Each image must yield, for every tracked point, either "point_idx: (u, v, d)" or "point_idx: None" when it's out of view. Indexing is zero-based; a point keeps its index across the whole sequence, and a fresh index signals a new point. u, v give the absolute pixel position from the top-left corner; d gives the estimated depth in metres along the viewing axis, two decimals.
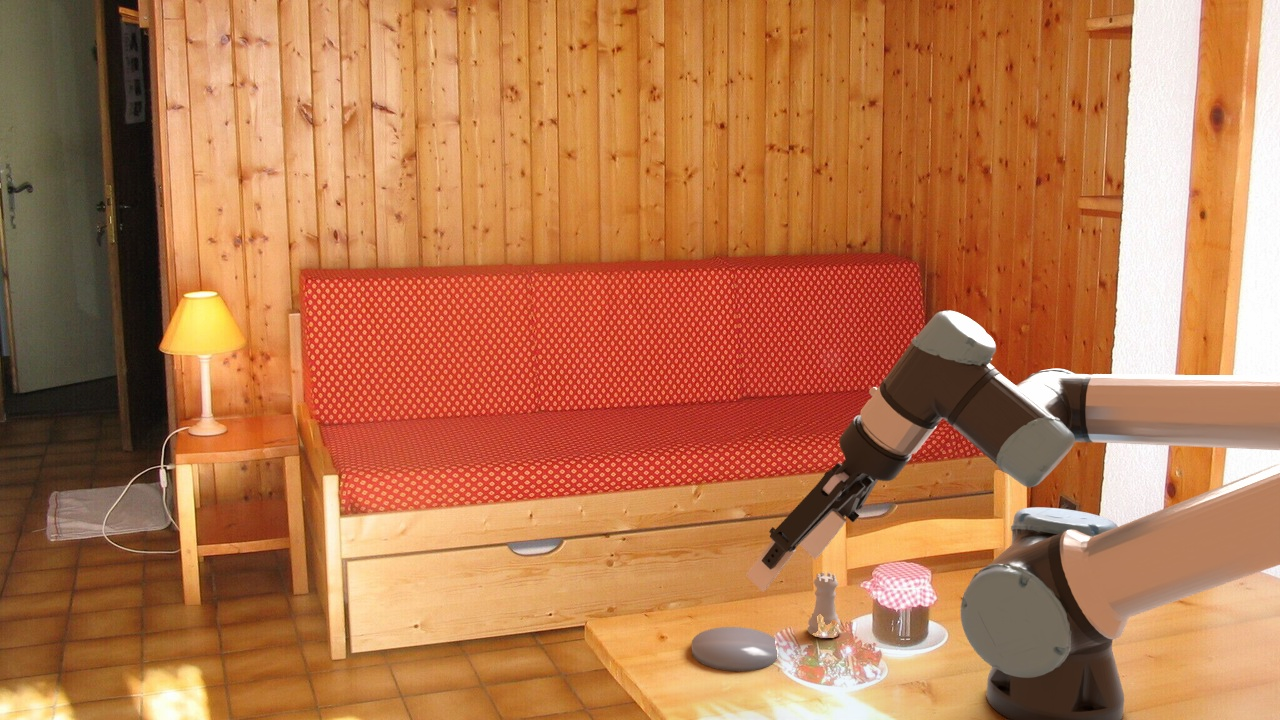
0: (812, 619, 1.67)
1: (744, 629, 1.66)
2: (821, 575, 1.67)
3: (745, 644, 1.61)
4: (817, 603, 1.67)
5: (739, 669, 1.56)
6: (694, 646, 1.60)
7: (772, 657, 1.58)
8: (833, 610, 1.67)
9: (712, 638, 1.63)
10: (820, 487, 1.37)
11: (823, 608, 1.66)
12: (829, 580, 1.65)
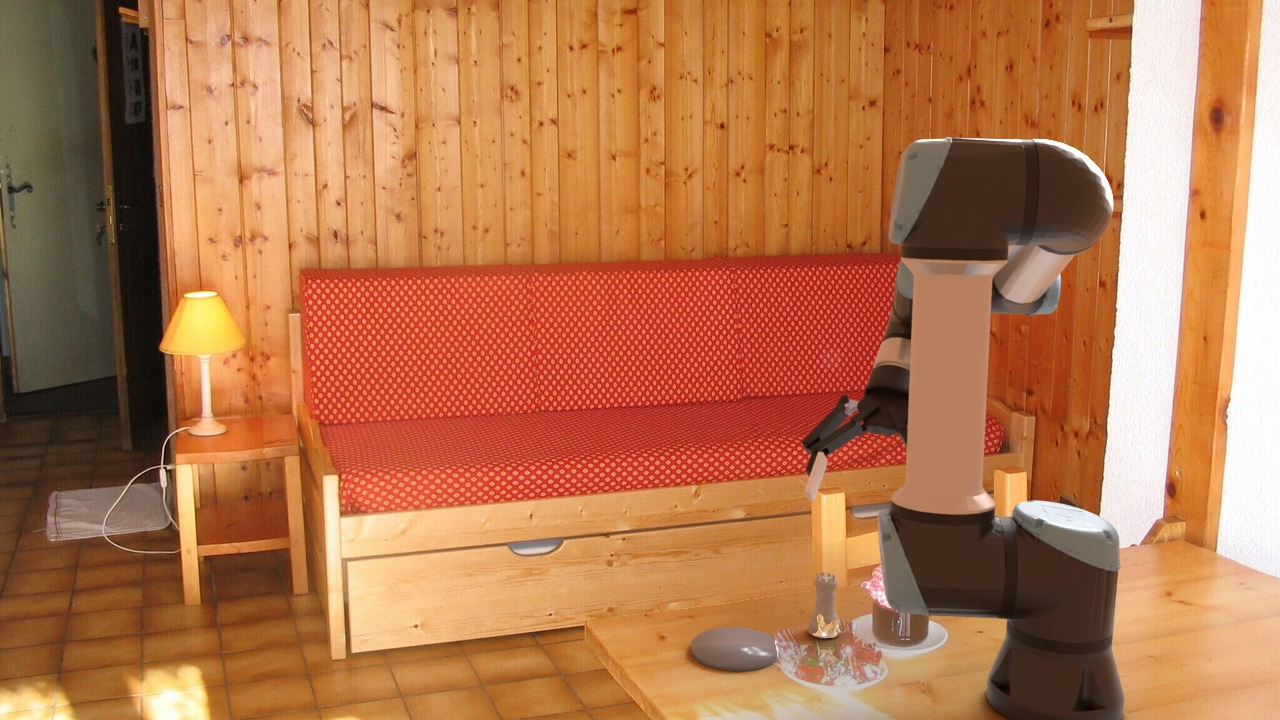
0: (812, 619, 1.67)
1: (744, 629, 1.66)
2: (821, 575, 1.68)
3: (745, 644, 1.61)
4: (817, 603, 1.67)
5: (739, 669, 1.56)
6: (694, 646, 1.60)
7: (772, 657, 1.58)
8: (833, 610, 1.67)
9: (712, 638, 1.63)
10: None
11: (823, 608, 1.66)
12: (829, 580, 1.65)
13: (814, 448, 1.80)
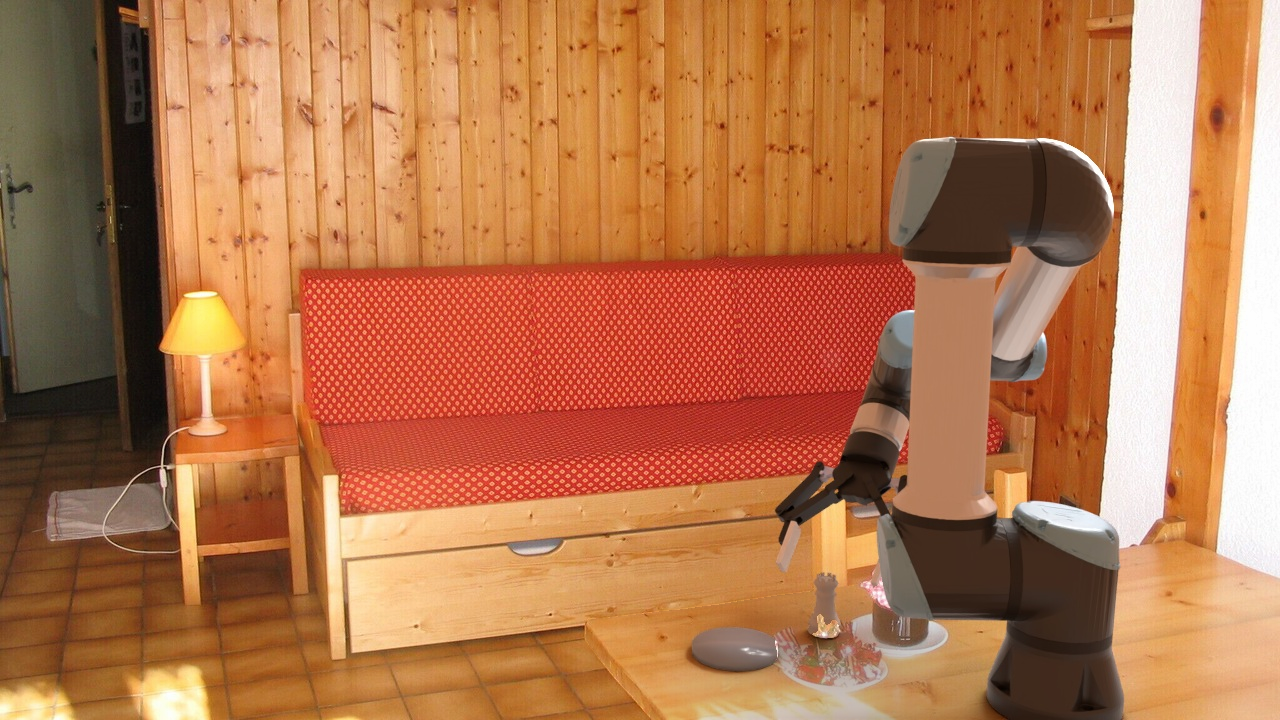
0: (812, 619, 1.67)
1: (744, 629, 1.66)
2: (821, 575, 1.68)
3: (745, 644, 1.61)
4: (817, 603, 1.67)
5: (739, 669, 1.56)
6: (694, 646, 1.60)
7: (772, 657, 1.58)
8: (833, 610, 1.67)
9: (712, 638, 1.63)
10: None
11: (823, 608, 1.66)
12: (829, 580, 1.65)
13: (787, 517, 1.75)
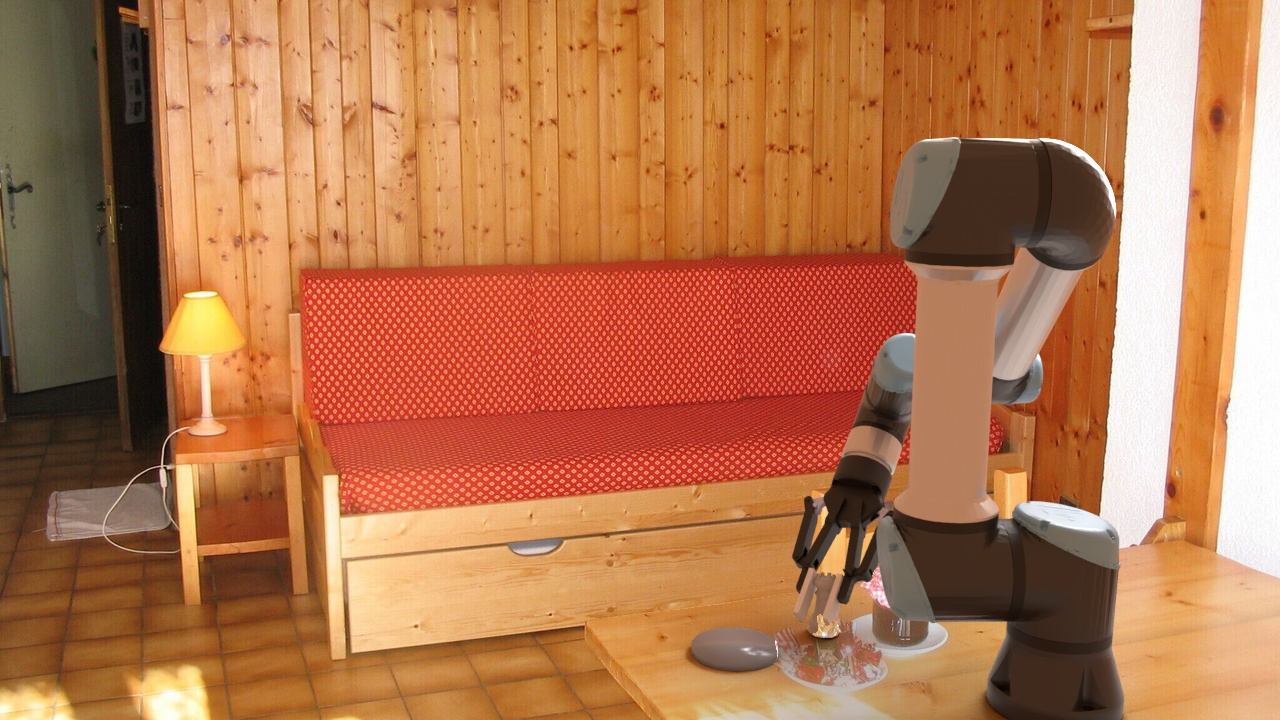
0: (812, 619, 1.67)
1: (744, 629, 1.66)
2: (821, 575, 1.68)
3: (745, 644, 1.61)
4: (817, 603, 1.67)
5: (739, 669, 1.56)
6: (694, 646, 1.60)
7: (772, 657, 1.58)
8: None
9: (712, 638, 1.63)
10: None
11: (823, 608, 1.66)
12: (829, 580, 1.65)
13: (806, 564, 1.68)
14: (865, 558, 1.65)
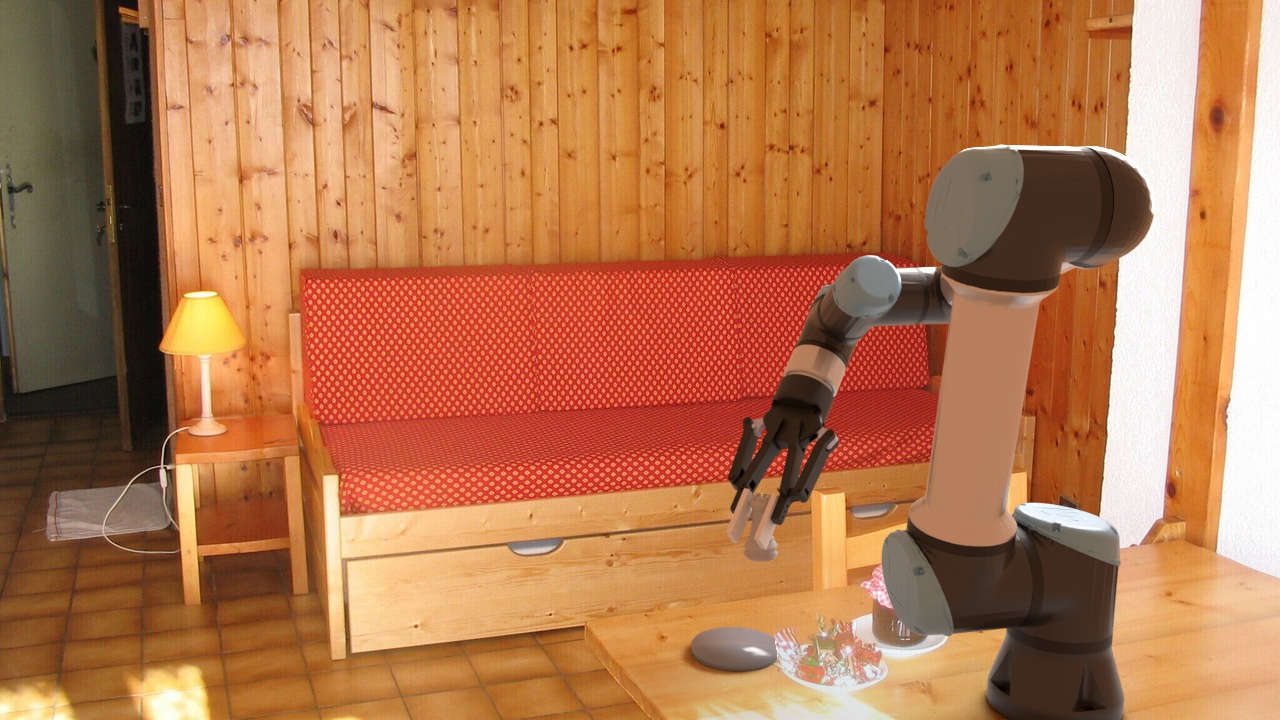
0: (747, 541, 1.62)
1: (744, 629, 1.66)
2: (757, 496, 1.62)
3: (745, 644, 1.61)
4: (752, 524, 1.61)
5: (739, 669, 1.56)
6: (694, 646, 1.60)
7: (772, 657, 1.58)
8: None
9: (712, 638, 1.63)
10: None
11: None
12: (764, 500, 1.60)
13: (741, 485, 1.62)
14: (801, 477, 1.59)
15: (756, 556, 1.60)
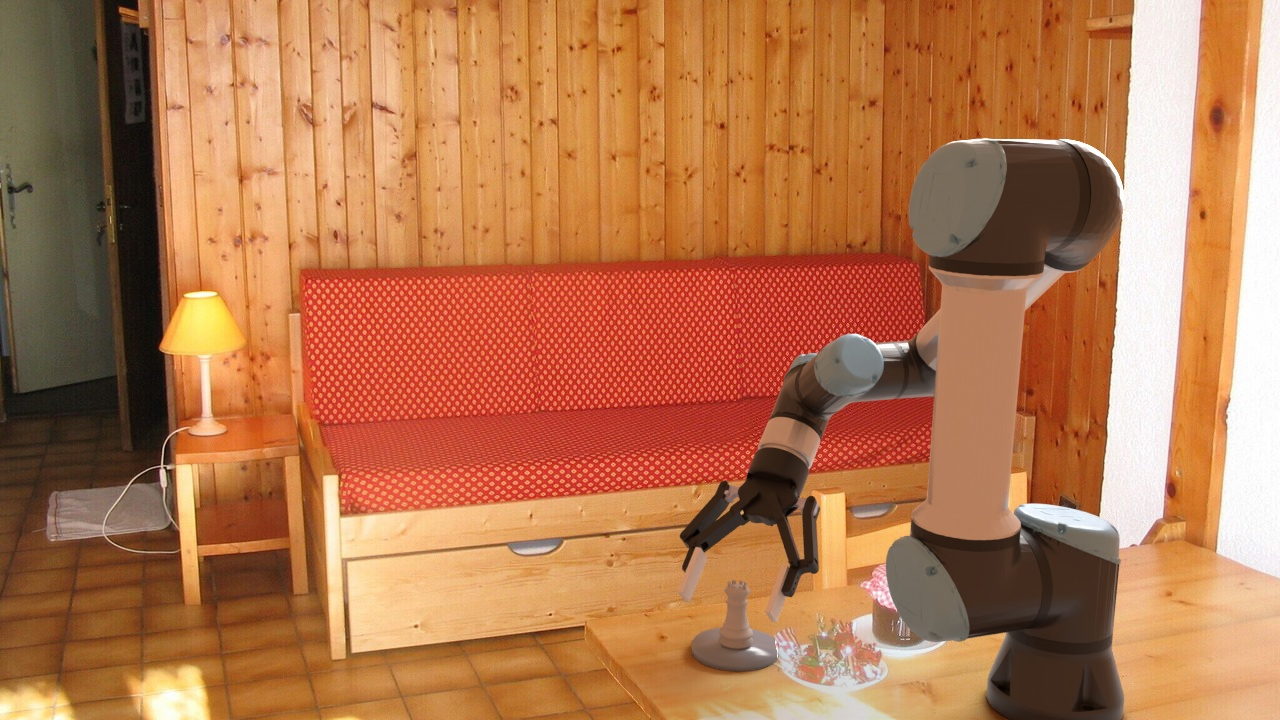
0: (723, 629, 1.61)
1: None
2: (733, 583, 1.61)
3: None
4: (728, 612, 1.60)
5: (739, 669, 1.56)
6: (694, 646, 1.60)
7: (772, 657, 1.58)
8: (744, 619, 1.60)
9: (712, 638, 1.63)
10: None
11: (734, 617, 1.59)
12: (740, 588, 1.59)
13: (692, 543, 1.64)
14: (806, 549, 1.57)
15: (731, 644, 1.59)
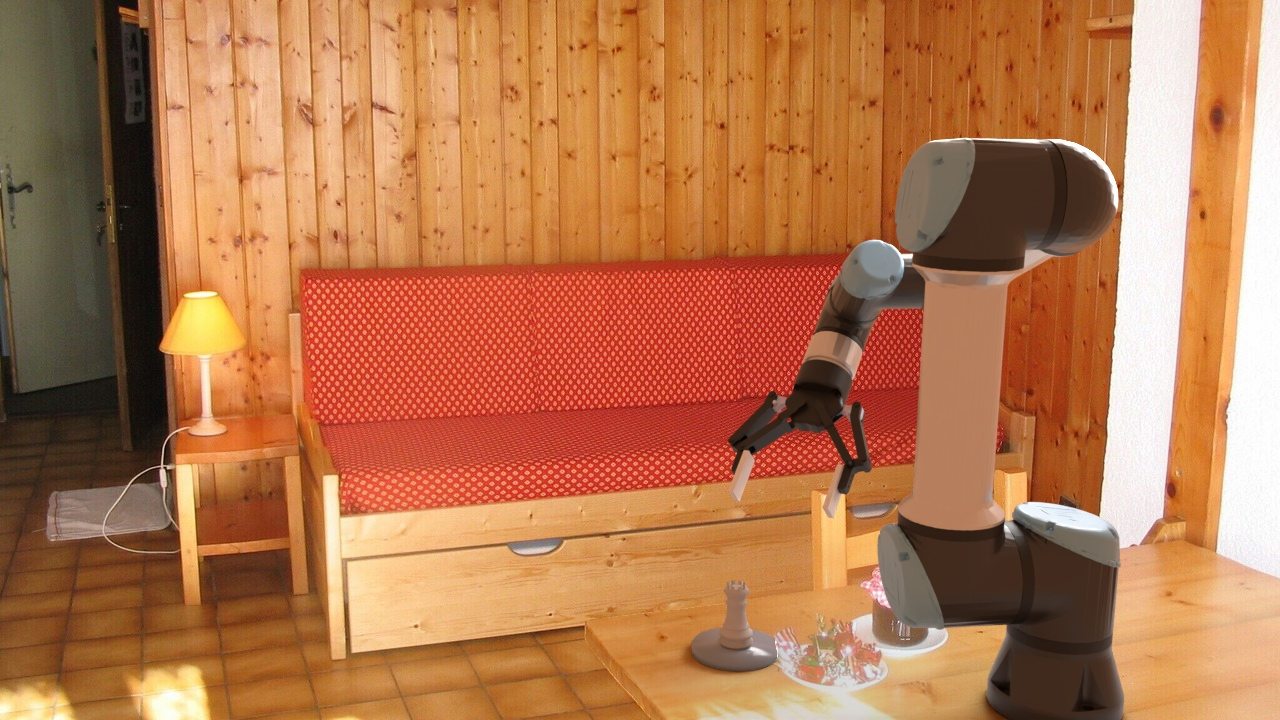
0: (723, 629, 1.61)
1: None
2: (732, 583, 1.61)
3: None
4: (727, 612, 1.60)
5: (739, 669, 1.56)
6: (694, 646, 1.60)
7: (772, 657, 1.58)
8: (744, 619, 1.60)
9: (712, 638, 1.63)
10: None
11: (733, 618, 1.59)
12: (739, 588, 1.59)
13: (740, 446, 1.74)
14: (858, 450, 1.66)
15: (731, 644, 1.59)
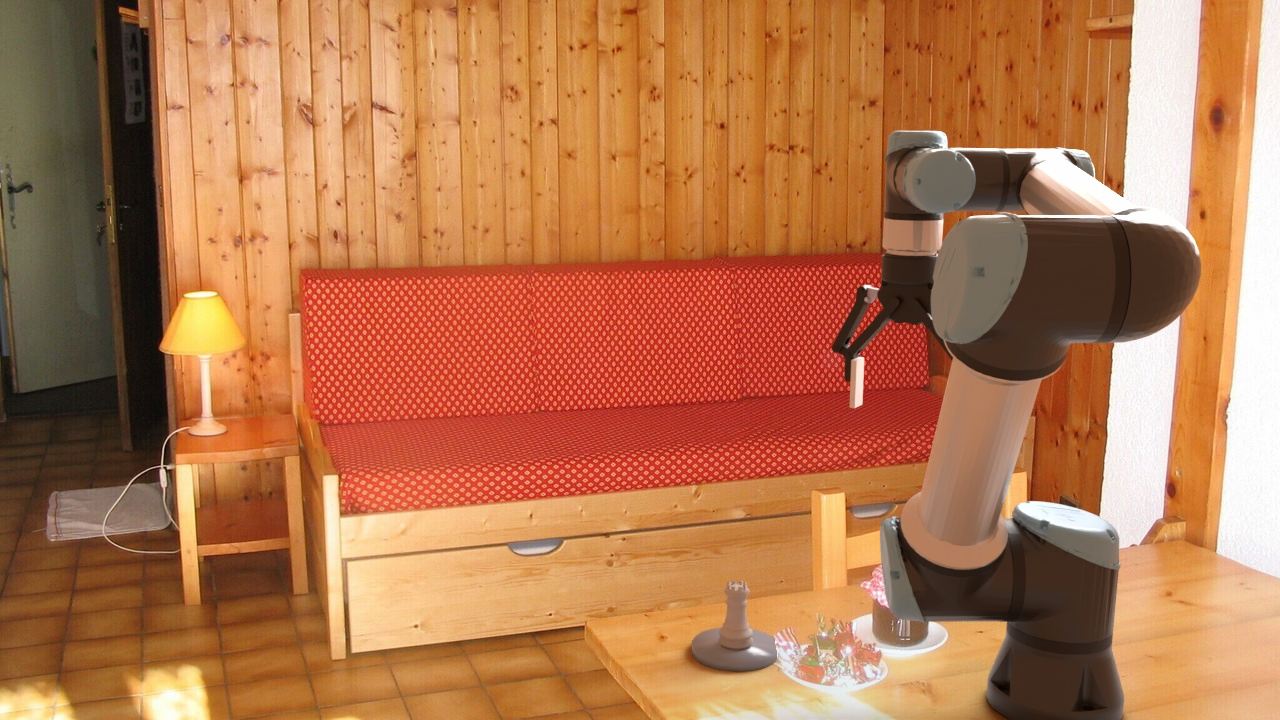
0: (723, 629, 1.61)
1: None
2: (732, 583, 1.61)
3: None
4: (728, 612, 1.60)
5: (739, 669, 1.56)
6: (694, 646, 1.60)
7: (772, 657, 1.58)
8: (744, 620, 1.60)
9: (712, 638, 1.63)
10: None
11: (733, 618, 1.59)
12: (739, 588, 1.59)
13: (846, 356, 1.70)
14: None
15: (731, 645, 1.59)
